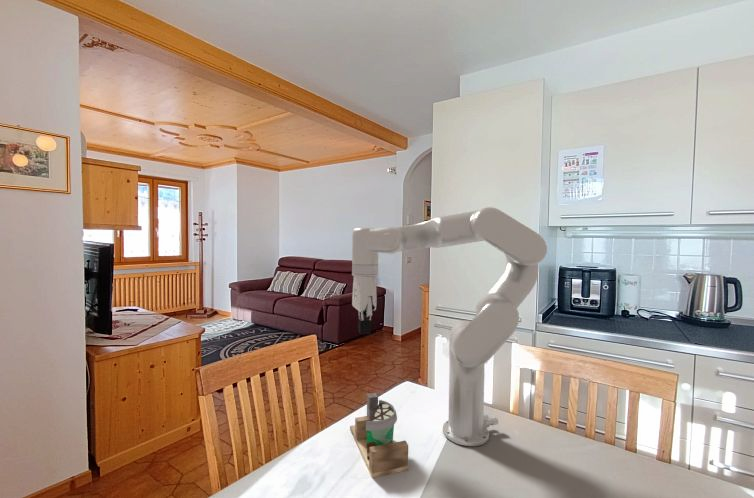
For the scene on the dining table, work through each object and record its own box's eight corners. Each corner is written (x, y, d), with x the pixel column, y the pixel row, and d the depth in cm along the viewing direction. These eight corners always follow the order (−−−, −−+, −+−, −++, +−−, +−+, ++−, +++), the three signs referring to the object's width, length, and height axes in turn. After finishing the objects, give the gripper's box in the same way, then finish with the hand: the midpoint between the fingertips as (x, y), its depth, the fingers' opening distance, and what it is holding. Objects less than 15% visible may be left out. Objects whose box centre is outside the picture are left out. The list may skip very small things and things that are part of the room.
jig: (379, 424, 102) (380, 404, 102) (408, 470, 82) (408, 445, 82) (350, 429, 99) (350, 408, 99) (371, 477, 79) (372, 452, 79)
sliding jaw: (386, 430, 97) (386, 391, 97) (389, 434, 95) (389, 395, 94) (354, 435, 94) (355, 395, 94) (357, 440, 92) (357, 399, 91)
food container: (390, 467, 81) (390, 425, 81) (365, 462, 83) (365, 421, 83) (401, 438, 93) (401, 402, 93) (379, 434, 95) (379, 398, 95)
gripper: (346, 268, 107) (346, 327, 107) (359, 273, 92) (358, 341, 93) (370, 268, 109) (369, 326, 109) (386, 272, 95) (385, 339, 95)
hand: (364, 333), depth 101 cm, fingers closed
